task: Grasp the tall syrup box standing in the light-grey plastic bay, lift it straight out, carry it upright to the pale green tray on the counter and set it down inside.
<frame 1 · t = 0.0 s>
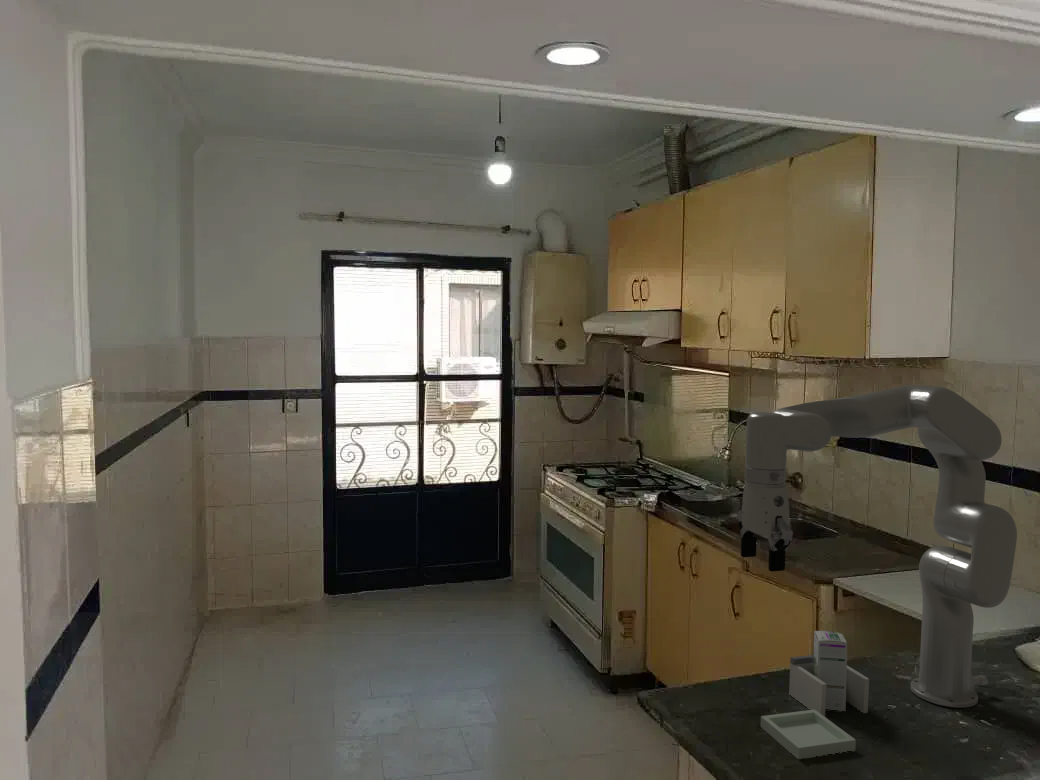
hand: (762, 563, 151), 31 cm above the countertop, tool pointing down, fingers open, 9 cm apart
bay: (828, 704, 159), on the countertop
syrup box: (828, 705, 159), on the countertop
tray: (806, 738, 145), on the countertop
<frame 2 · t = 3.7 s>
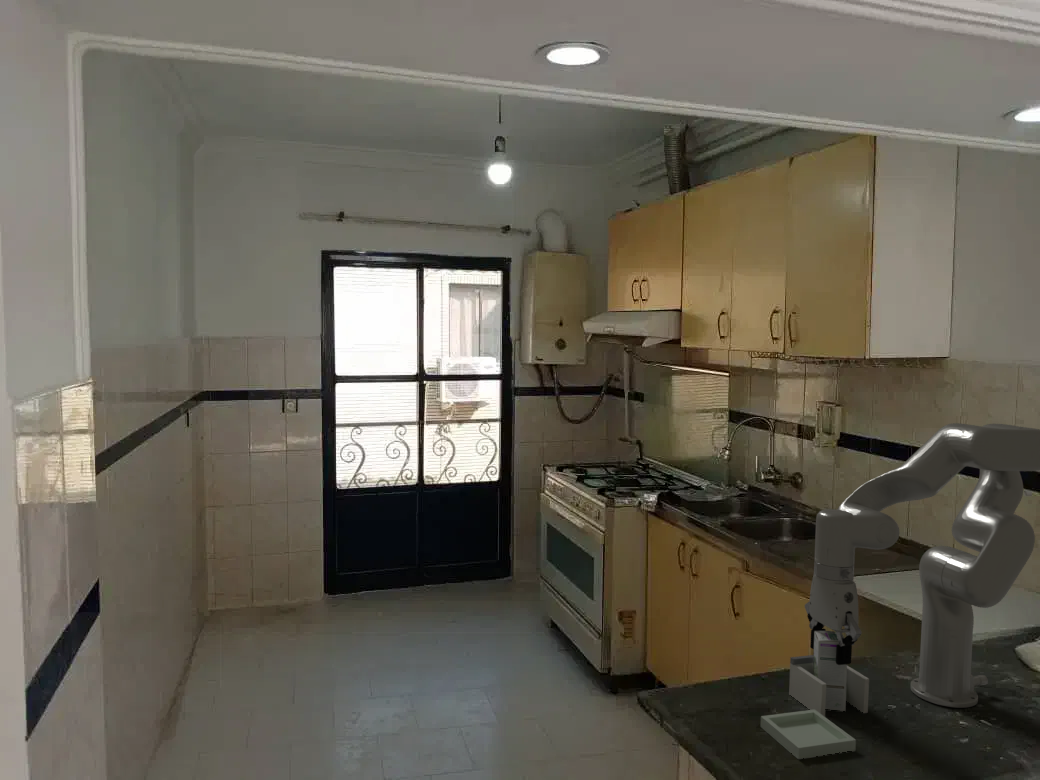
hand: (830, 655, 159), 10 cm above the countertop, tool pointing down, fingers closed on syrup box, 7 cm apart
syrup box: (828, 705, 159), on the countertop, touching gripper
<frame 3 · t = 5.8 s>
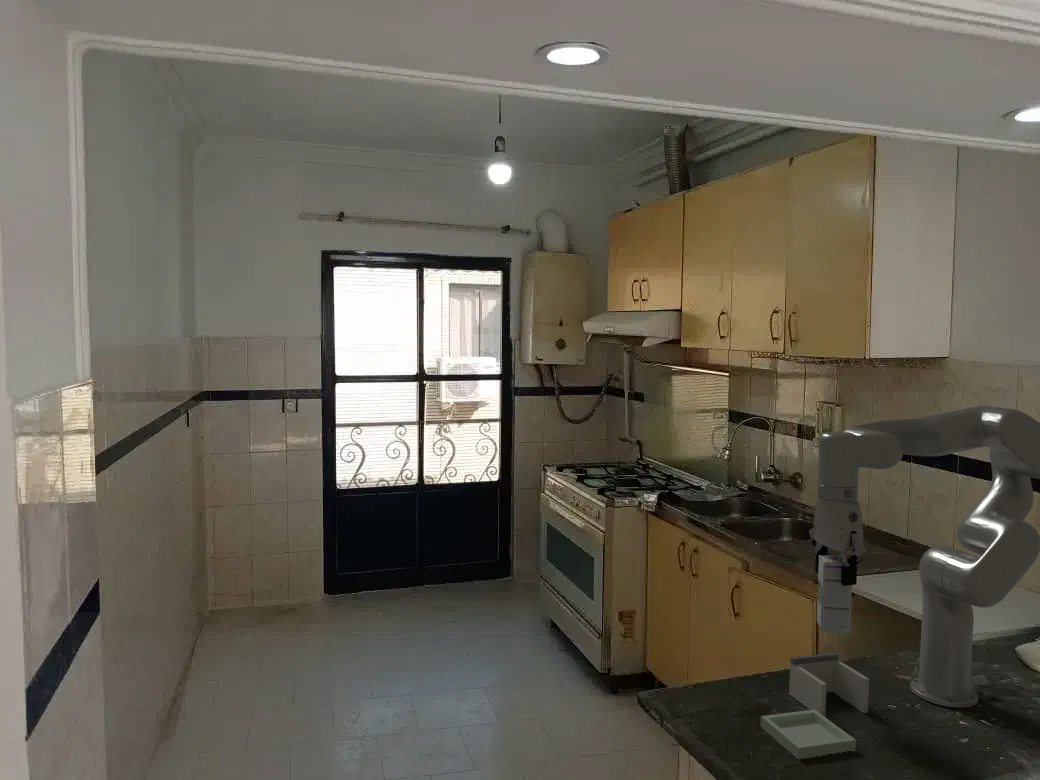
hand: (835, 578, 158), 26 cm above the countertop, tool pointing down, fingers closed on syrup box, 7 cm apart
syrup box: (832, 629, 158), point 16 cm above the countertop, touching gripper
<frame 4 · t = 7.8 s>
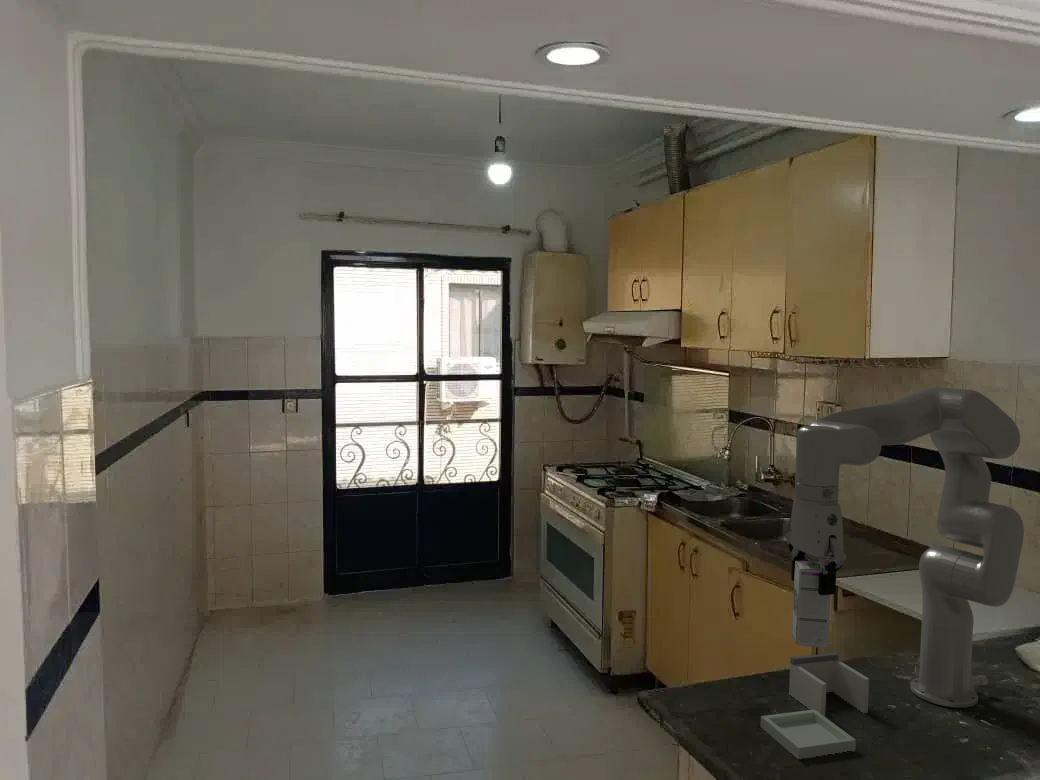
hand: (812, 586, 143), 29 cm above the countertop, tool pointing down, fingers closed on syrup box, 7 cm apart
syrup box: (808, 642, 144), point 19 cm above the countertop, touching gripper
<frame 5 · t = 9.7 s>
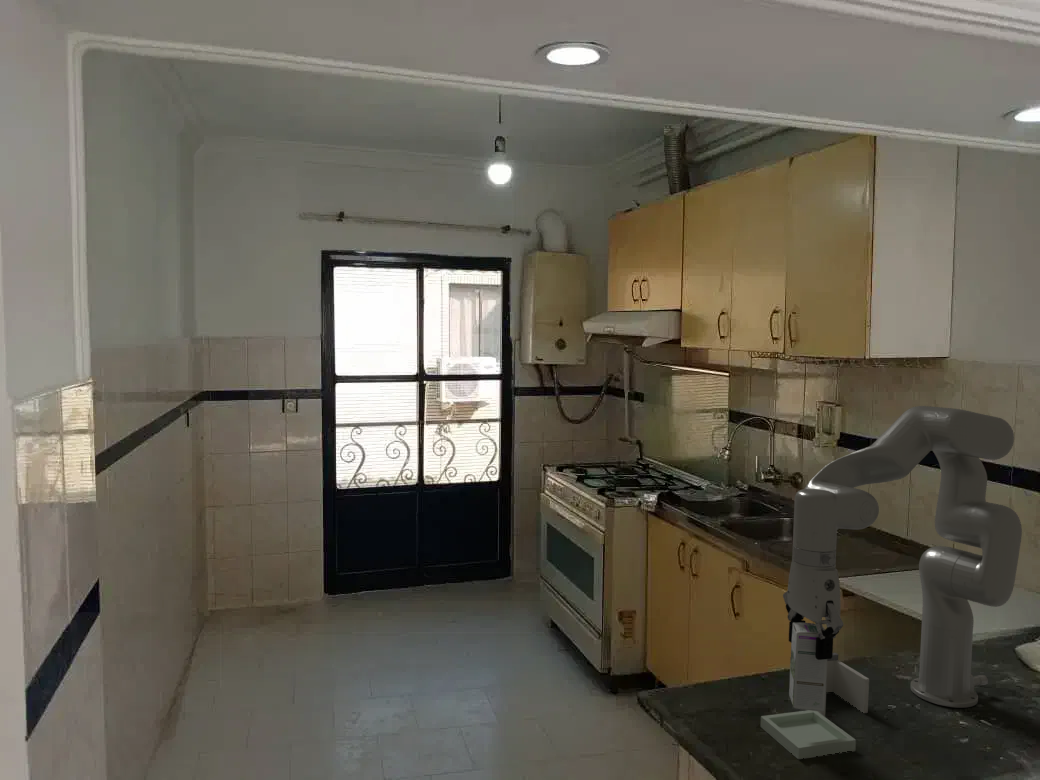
hand: (809, 649, 144), 17 cm above the countertop, tool pointing down, fingers closed on syrup box, 7 cm apart
syrup box: (805, 704, 145), point 7 cm above the countertop, touching gripper
when the fingers open (13 cm above the countertop, at t = 11.7 s): syrup box drops 2 cm, resting on tray.
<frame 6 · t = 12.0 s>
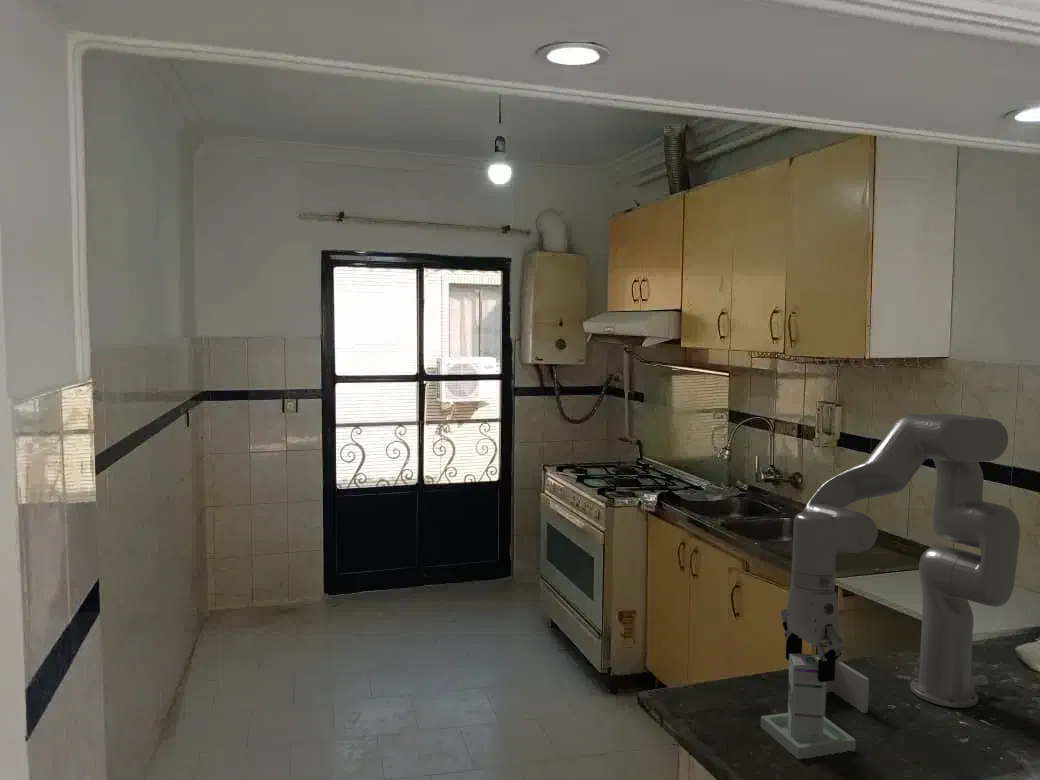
hand: (809, 669, 144), 13 cm above the countertop, tool pointing down, fingers open, 9 cm apart
syrup box: (804, 735, 145), resting on tray
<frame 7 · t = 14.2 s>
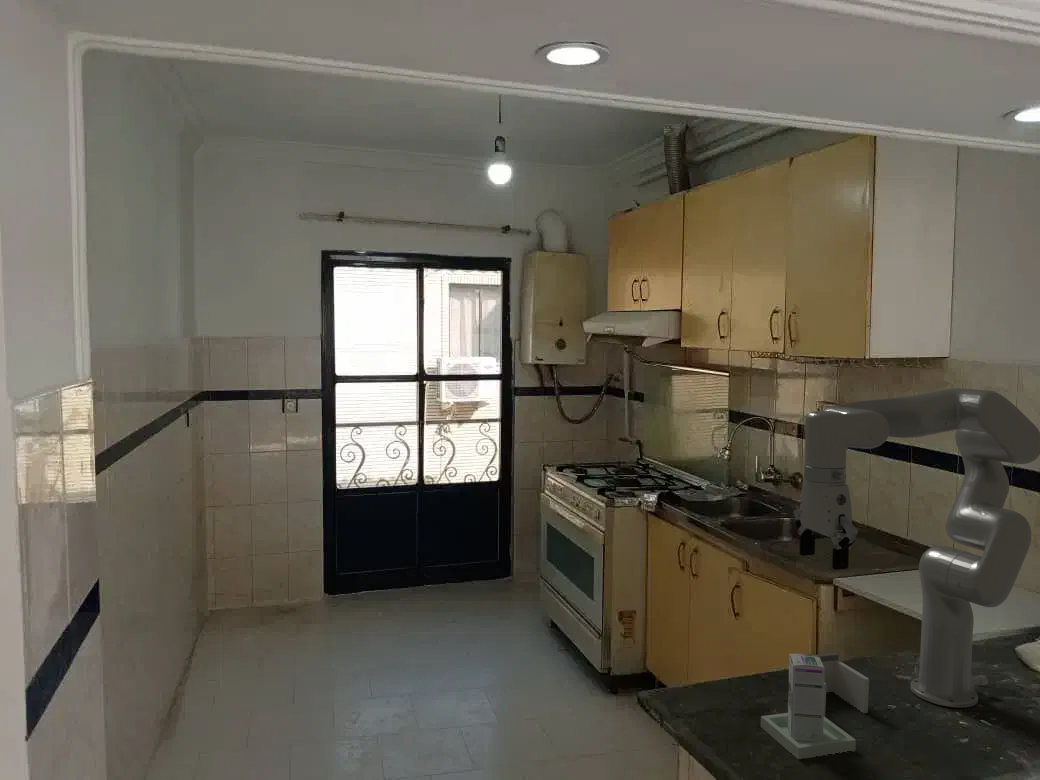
hand: (823, 561, 151), 32 cm above the countertop, tool pointing down, fingers open, 9 cm apart
nothing on the countertop moved.
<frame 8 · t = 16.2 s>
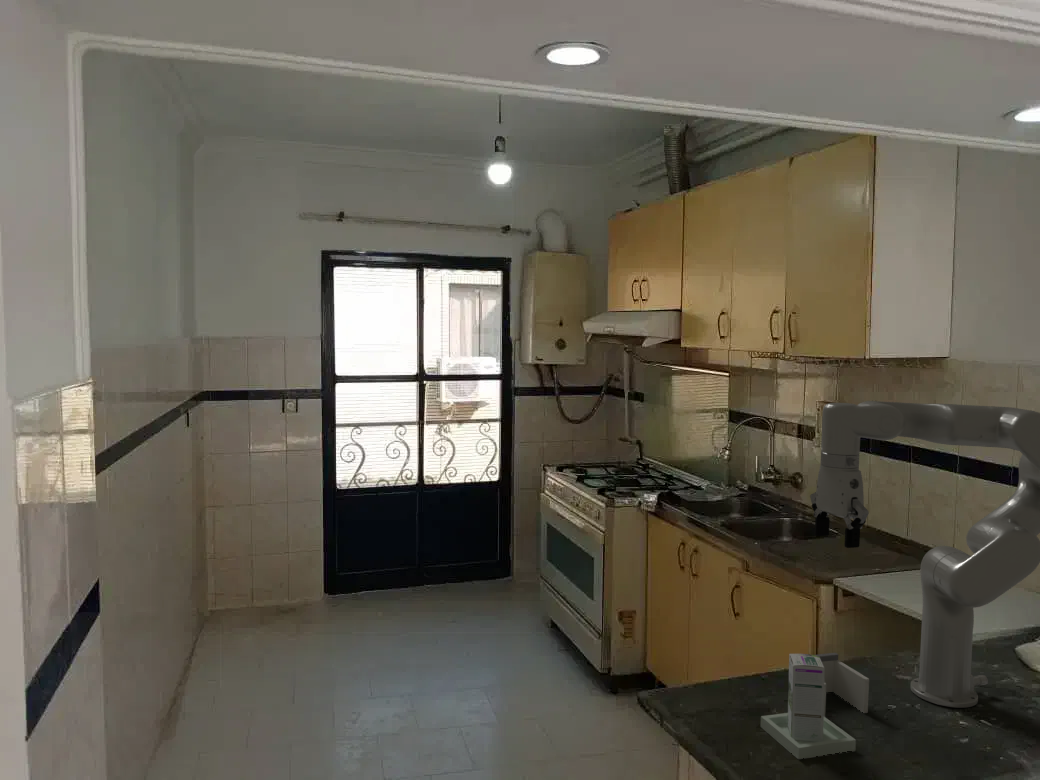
hand: (836, 541, 164), 32 cm above the countertop, tool pointing down, fingers open, 9 cm apart
nothing on the countertop moved.
at the end: syrup box inside the target area on the tray (0.4 cm from its centre), point 0.4 cm above the tray's base; syrup box tilted 0°; the gripper is holding nothing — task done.
